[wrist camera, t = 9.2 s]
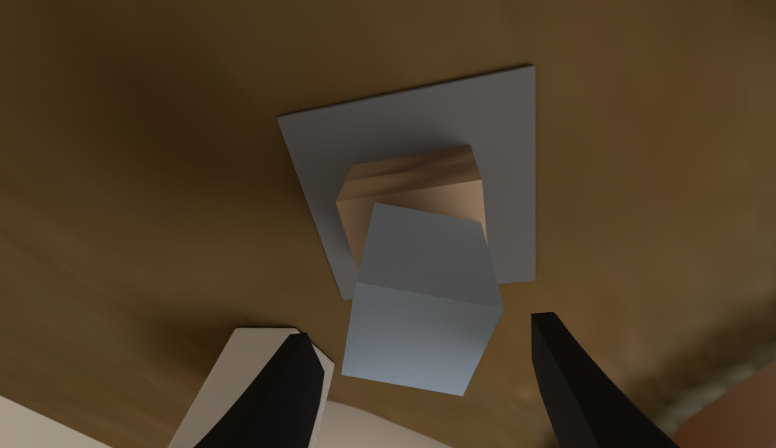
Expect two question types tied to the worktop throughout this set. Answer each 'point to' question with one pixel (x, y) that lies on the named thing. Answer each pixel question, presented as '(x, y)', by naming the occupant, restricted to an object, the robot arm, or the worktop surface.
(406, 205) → the slab upper
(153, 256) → the worktop surface
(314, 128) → the mat
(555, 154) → the worktop surface
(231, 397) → the jar
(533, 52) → the worktop surface
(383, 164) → the tan cardboard box
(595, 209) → the worktop surface
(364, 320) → the blue cube
